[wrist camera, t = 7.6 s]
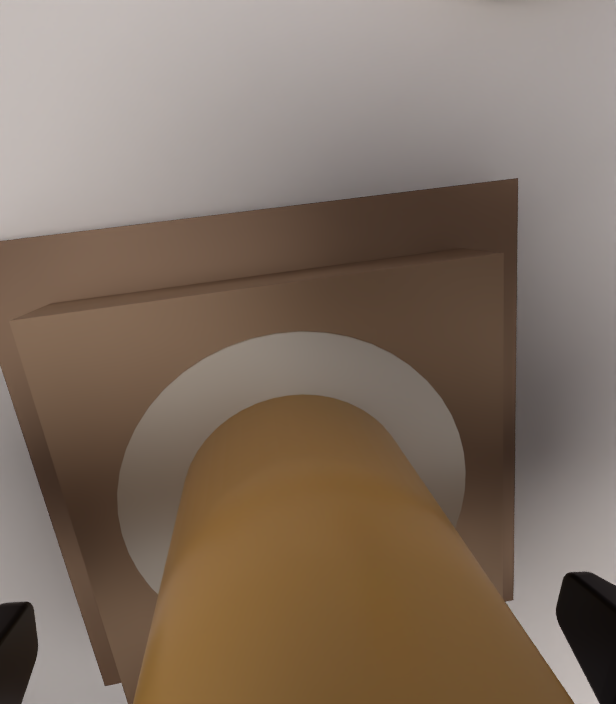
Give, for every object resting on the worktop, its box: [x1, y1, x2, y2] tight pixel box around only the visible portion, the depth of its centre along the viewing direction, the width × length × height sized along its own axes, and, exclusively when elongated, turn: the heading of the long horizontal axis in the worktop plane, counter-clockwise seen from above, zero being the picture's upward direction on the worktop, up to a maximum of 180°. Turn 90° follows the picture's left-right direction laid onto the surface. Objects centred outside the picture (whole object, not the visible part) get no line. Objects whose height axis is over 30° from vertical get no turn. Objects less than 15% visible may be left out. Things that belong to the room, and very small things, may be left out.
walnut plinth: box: [0, 178, 518, 704], centre depth 12 cm, size 13×13×3 cm
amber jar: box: [133, 394, 574, 704], centre depth 7 cm, size 5×5×8 cm
